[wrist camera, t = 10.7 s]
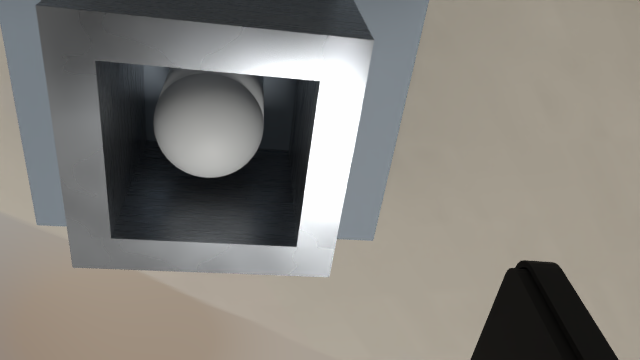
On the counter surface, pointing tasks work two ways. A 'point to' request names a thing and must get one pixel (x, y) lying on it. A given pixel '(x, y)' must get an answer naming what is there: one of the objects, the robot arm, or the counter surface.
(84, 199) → the grey open box
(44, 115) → the shaft block
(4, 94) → the counter surface
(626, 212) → the counter surface
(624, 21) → the counter surface
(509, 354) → the robot arm
